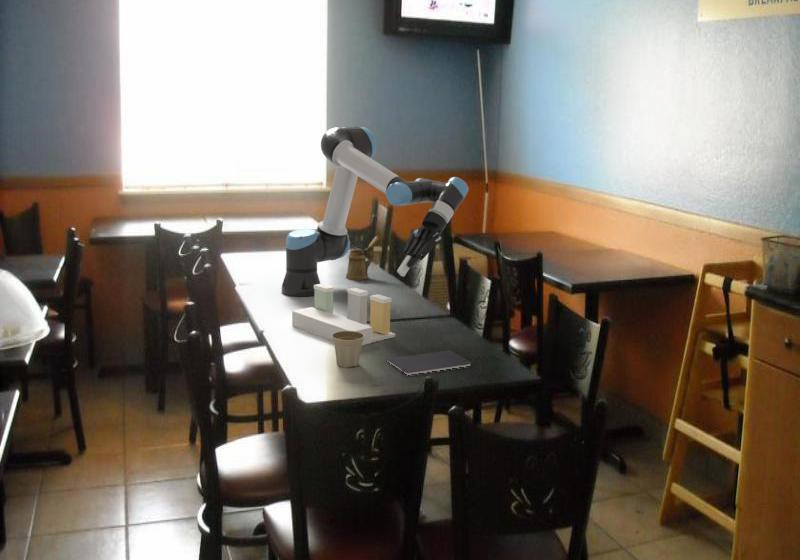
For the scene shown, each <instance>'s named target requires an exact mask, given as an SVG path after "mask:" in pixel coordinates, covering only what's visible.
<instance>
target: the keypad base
mask: <svg viewBox="0 0 800 560" xmlns="http://www.w3.org/2000/svg"><path fill="white" fill-rule="evenodd" d="M291 316H292V317H291V319H292V320H291V322H292V323H291V324H292V325H291V326H293V327H294V326H295V328H297V329H301V330H303V331H306V332H308V333H311V334H314V335H316V336H320V337H322V338H325V339H328V340H330V341H333V338H332V337H331V335H332V334H333V333H335V332H339V331H357V332H361V333H363V334H364V335H365V337H364V338H363V342H362V345H361V346H364V345H368V344H372V342H373V343H376V341H377V342H380V341H384V339H385V340H387V339H392V338H395V337H396V333H395V332H392V331H390V332H389V333H385V334H381V333H378V332H375V331H372V327H370V324H366V325H364V324H361V323H358V322H355V321H352V320H349V319H348V317H346V316H344V315H339V314H337V313H333V314H331V313H328V312H325V311H322V310H319V309H316V308H314V306H311V307H305V308H300V309H295V310H292V315H291Z"/></svg>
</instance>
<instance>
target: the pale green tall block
mask: <svg viewBox="0 0 800 560" xmlns="http://www.w3.org/2000/svg"><path fill="white" fill-rule="evenodd" d="M314 289H315V295H314V300H313V301H314V303H313V304H314V306H313V308H316V309H319V310H322V311H325V312H328V313H331V314H334V291H335V287H334V286H332V285H329V284H325V283H321V284H316V285H314Z"/></svg>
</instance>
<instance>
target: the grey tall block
mask: <svg viewBox="0 0 800 560" xmlns="http://www.w3.org/2000/svg"><path fill="white" fill-rule="evenodd" d="M346 293H347V318H348V319H349V320H352V321H355V322H358V323H361V324H364V325H366V324H367V323H368V322H367V319H368V318H367V316H368V314H367V312H368V295H369V291H368V290H365V289H361V288H357V287H351V288H347V289H346ZM367 325H368V324H367Z"/></svg>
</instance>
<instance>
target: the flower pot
mask: <svg viewBox="0 0 800 560" xmlns="http://www.w3.org/2000/svg"><path fill="white" fill-rule="evenodd" d="M331 337H332V338H333V340H332V342H333V344H334V351H335V358H336V359H335V360H336V365H338V367H340V366H342V367H341V368H347V367H348V368H351V367H353V366H355V367H357V366H358V365H359V363H360V358H361V349H362V346H363V345H362V342H363V338H364V337H365V335H364V334H363V333H361V332H357V331H339V332H335V333H333V334H332V335H331Z"/></svg>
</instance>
